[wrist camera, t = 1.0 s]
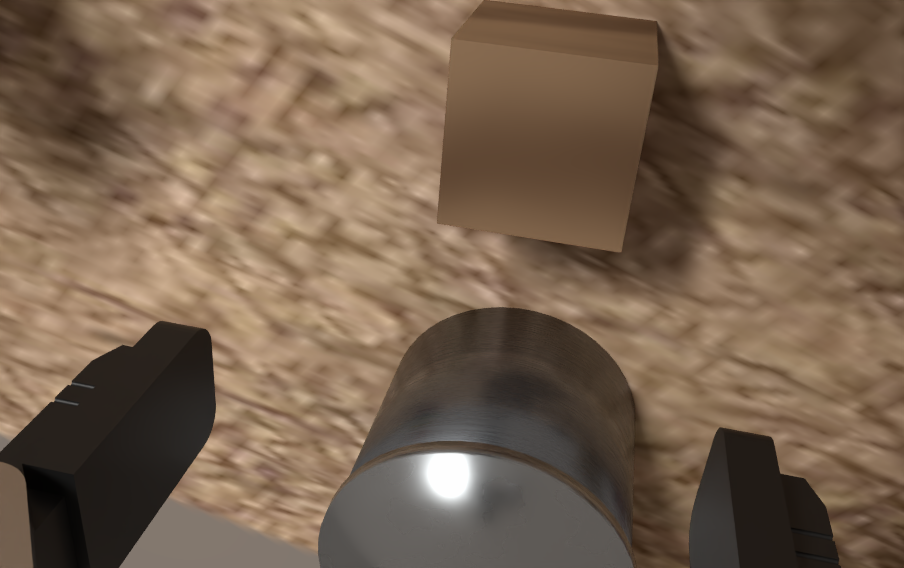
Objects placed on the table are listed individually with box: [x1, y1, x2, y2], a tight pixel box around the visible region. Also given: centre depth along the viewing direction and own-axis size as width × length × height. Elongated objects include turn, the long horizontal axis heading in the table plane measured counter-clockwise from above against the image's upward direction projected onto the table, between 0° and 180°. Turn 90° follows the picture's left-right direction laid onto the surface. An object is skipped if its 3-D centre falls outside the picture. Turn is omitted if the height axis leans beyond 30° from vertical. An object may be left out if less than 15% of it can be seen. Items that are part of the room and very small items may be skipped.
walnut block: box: [437, 0, 659, 253], centre depth 26 cm, size 6×6×6 cm
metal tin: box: [318, 307, 636, 568], centre depth 32 cm, size 10×10×9 cm
